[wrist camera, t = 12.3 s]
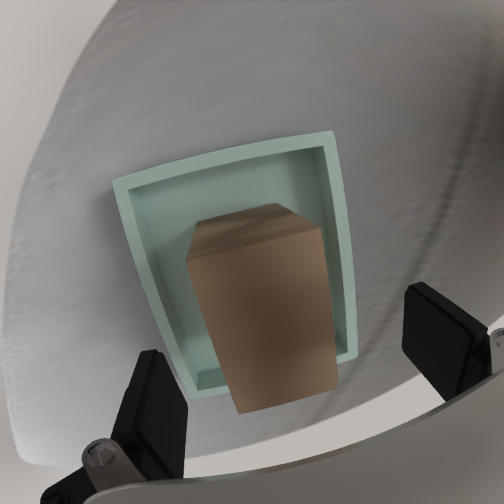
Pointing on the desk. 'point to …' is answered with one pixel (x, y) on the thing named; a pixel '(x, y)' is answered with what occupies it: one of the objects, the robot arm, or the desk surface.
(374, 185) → the desk surface
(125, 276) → the desk surface
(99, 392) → the desk surface
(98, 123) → the desk surface
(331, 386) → the walnut block
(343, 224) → the tray
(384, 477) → the robot arm
